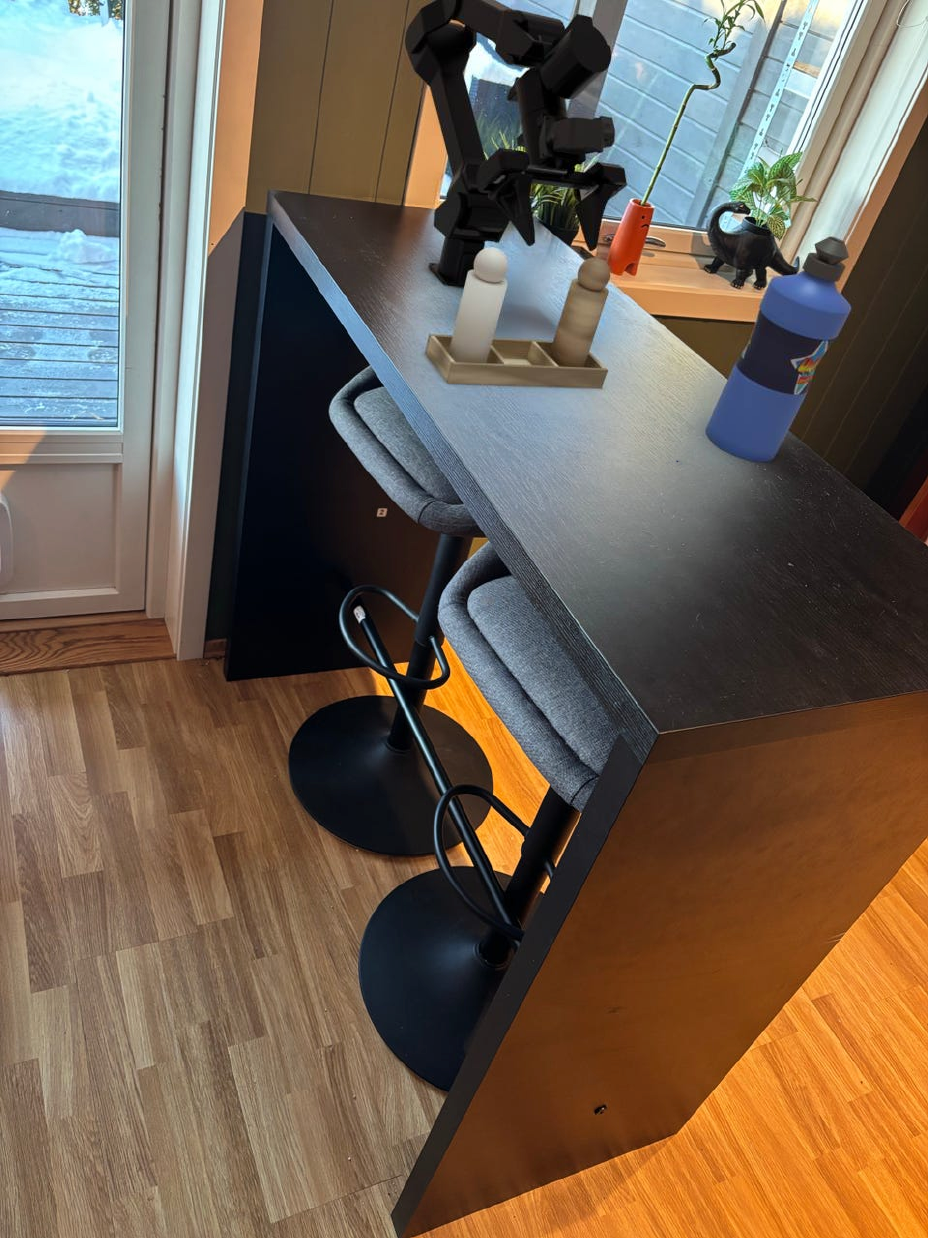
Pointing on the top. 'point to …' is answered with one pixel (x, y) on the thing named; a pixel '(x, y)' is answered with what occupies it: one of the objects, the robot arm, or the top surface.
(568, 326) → the pepper mill
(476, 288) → the salt mill
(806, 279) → the water bottle
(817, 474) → the top surface
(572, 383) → the caddy
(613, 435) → the top surface
